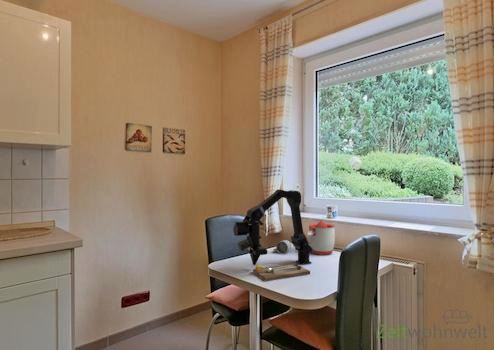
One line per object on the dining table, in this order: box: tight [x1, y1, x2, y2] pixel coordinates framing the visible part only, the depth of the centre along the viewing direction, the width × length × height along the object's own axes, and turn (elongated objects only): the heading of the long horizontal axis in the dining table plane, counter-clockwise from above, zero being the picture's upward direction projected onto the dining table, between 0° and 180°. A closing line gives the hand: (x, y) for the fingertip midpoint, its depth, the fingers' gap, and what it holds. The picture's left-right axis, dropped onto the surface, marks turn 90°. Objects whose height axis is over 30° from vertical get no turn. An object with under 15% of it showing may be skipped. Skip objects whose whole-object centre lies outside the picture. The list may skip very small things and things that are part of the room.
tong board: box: [252, 262, 311, 282], centre depth 150 cm, size 14×24×3 cm, turn 113°
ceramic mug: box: [273, 239, 292, 255], centre depth 190 cm, size 11×8×8 cm
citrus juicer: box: [307, 220, 336, 256], centre depth 188 cm, size 16×17×20 cm
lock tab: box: [255, 264, 264, 271], centre depth 150 cm, size 3×2×2 cm
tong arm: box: [266, 263, 299, 273], centre depth 150 cm, size 2×17×2 cm, turn 113°
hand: (254, 265), depth 155 cm, fingers closed
